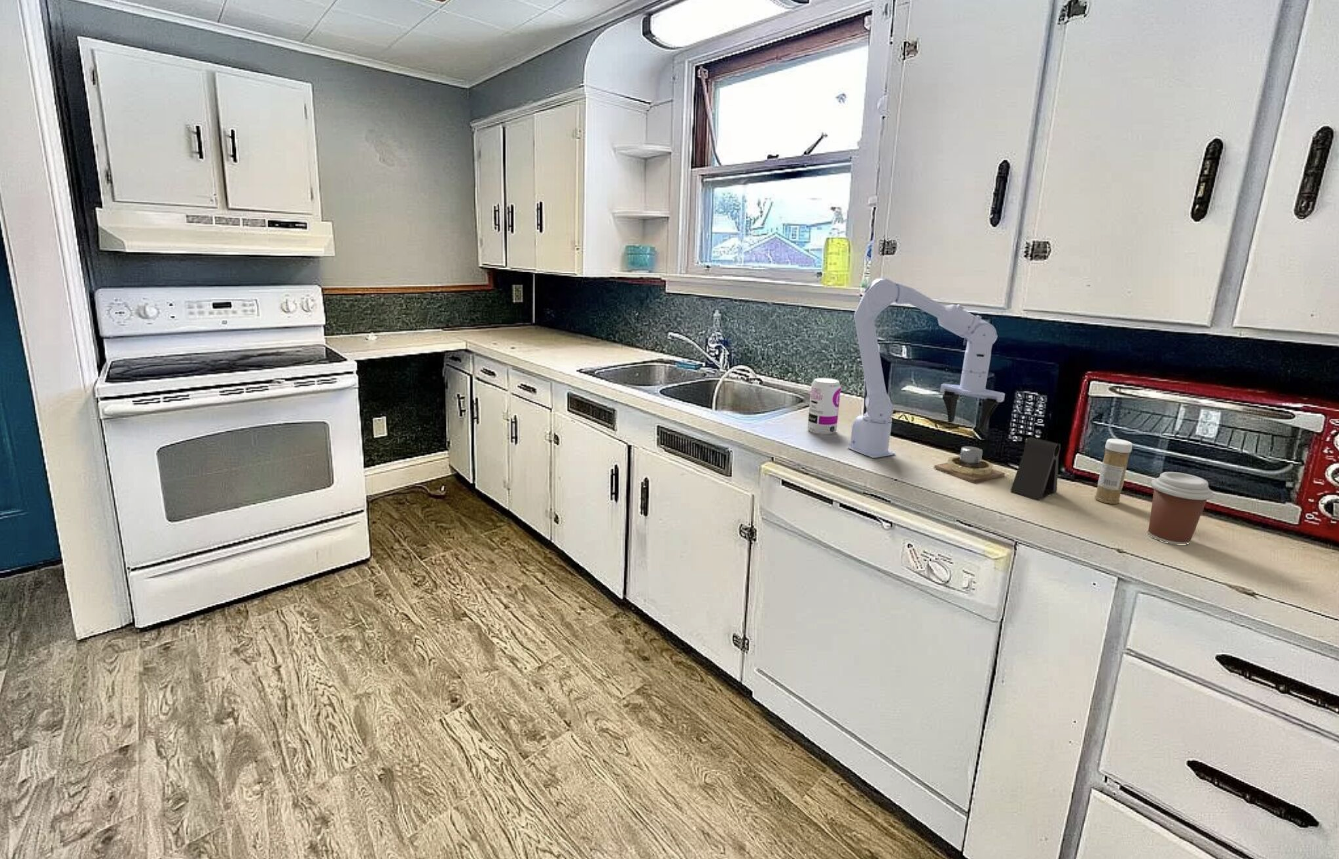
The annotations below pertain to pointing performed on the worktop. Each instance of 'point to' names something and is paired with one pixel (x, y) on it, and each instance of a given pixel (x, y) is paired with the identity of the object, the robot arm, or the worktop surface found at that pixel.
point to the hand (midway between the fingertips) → (966, 424)
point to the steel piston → (970, 457)
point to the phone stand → (1037, 469)
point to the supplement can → (824, 406)
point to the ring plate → (969, 478)
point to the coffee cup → (1177, 506)
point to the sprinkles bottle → (1113, 470)
